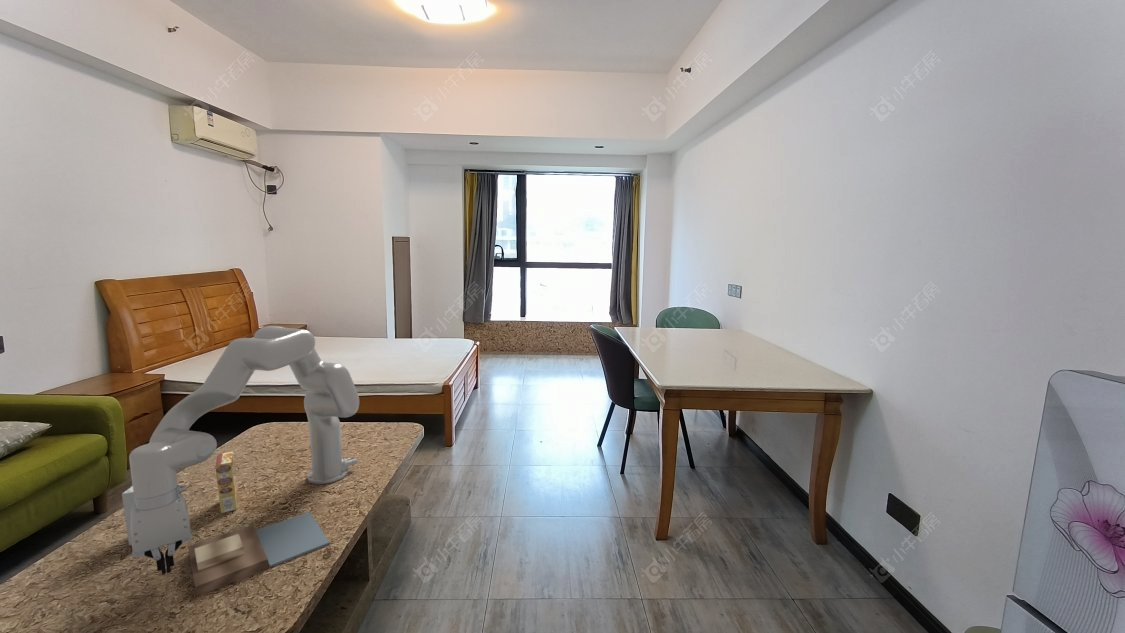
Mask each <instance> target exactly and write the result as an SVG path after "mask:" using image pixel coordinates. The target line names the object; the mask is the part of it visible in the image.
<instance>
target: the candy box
mask: <svg viewBox="0 0 1125 633" xmlns="http://www.w3.org/2000/svg"><path fill="white" fill-rule="evenodd" d="M216 456H217V457H216V460H215V465H214V467H215V473H216V482H217V492H218V499H219V509H220V514H224V513H228V512H232V511H236V510H238V502H239V493H238V484H237V475H236V466H235V457H234V451H228V452H223V453H218V454H217V455H216Z"/></svg>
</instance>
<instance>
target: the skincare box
mask: <svg viewBox="0 0 1125 633" xmlns="http://www.w3.org/2000/svg"><path fill="white" fill-rule="evenodd" d="M121 496H122V505H123V511H124V513H123V514H124V518H125V525H126V533H127V541H128V546H132V543H131V530H130V515H131V509H132V507H133V506H135V500H134V492H133V485H131V486H130V487H129V488H128V489H127V490H125V491H124V492H122V493H121Z"/></svg>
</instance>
